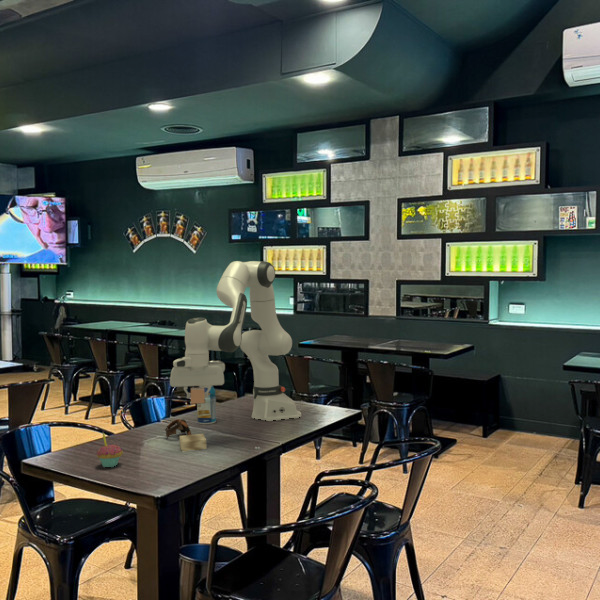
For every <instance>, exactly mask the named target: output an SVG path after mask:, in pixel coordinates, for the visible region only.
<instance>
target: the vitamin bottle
mask: <svg viewBox="0 0 600 600" xmlns="http://www.w3.org/2000/svg"><path fill="white" fill-rule="evenodd" d="M198 388H204V392H207V390H208V388H207V386H198ZM204 402H205V403H196V409H197V410H196V413H197V415H196V416H197V418H196V419H197V423H198V424H199V425H212V424H215V423H216V422H217V404H216V403H217V397H216V390H215V388H214V385H211V389H210V391H209V393H208V398H204Z"/></svg>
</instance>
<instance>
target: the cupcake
mask: <svg viewBox="0 0 600 600" xmlns="http://www.w3.org/2000/svg"><path fill="white" fill-rule="evenodd" d="M102 438H103V442H104V445H103V446H100V447H99V449H97V451H96V456H97V458H98V459H99V460H100V462H101V465H102V467H103V466H104V467H103V468H105V467H111V468H114V466H115V467H117V466H118V462H119V459H120V458H121V456H122V455H124V451H123V448H122V447H121V446H119V445H117V444H113V443H112V444H108V443H107V439H106V434H105V433H104V432H102ZM116 465H117V466H116Z"/></svg>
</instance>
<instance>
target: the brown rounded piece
mask: <svg viewBox="0 0 600 600" xmlns="http://www.w3.org/2000/svg"><path fill="white" fill-rule="evenodd" d="M164 431H165V436H166V437H167V438H168V437H169V438H170V436H172V435H177V431H180V433H182V434H183V433H184V434H185V433H186V435H193V434H192V432H191V429H190V426H189V425H188V422H187V421H186V420H185V419H180V418H177V419H175V420H173V421H171V422H170V423H169V424H167V426H166V427H165V428H164Z"/></svg>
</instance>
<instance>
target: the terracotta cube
mask: <svg viewBox="0 0 600 600" xmlns="http://www.w3.org/2000/svg"><path fill="white" fill-rule="evenodd" d="M190 393H191V398H190V404H197V403H205V402H204V388H199V387H190Z"/></svg>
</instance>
